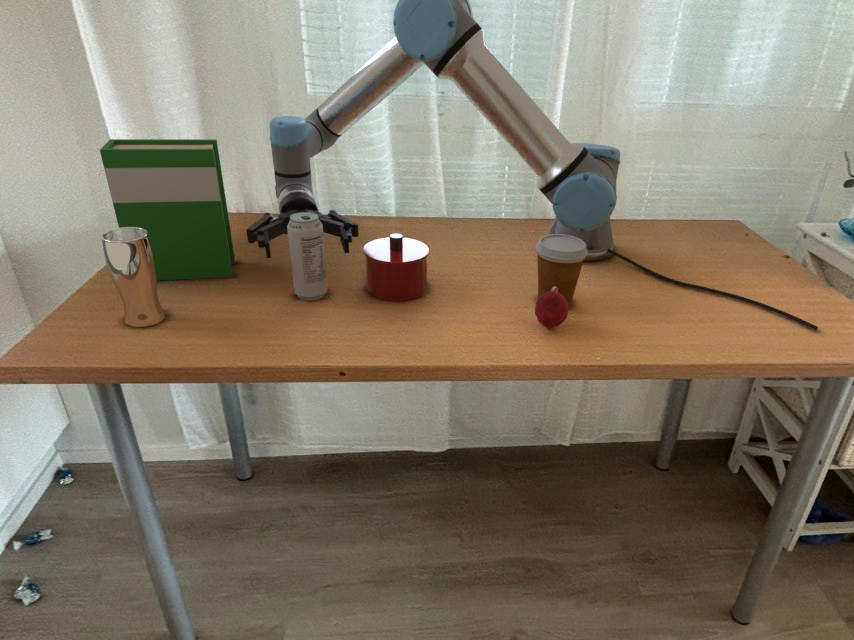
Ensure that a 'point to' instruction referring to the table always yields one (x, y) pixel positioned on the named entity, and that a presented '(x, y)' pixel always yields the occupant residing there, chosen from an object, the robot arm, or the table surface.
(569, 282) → the disposable coffee cup
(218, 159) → the hardback book
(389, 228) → the table surface
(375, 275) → the pot
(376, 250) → the pot lid
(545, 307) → the onion
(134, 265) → the beer glass
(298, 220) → the energy drink can
